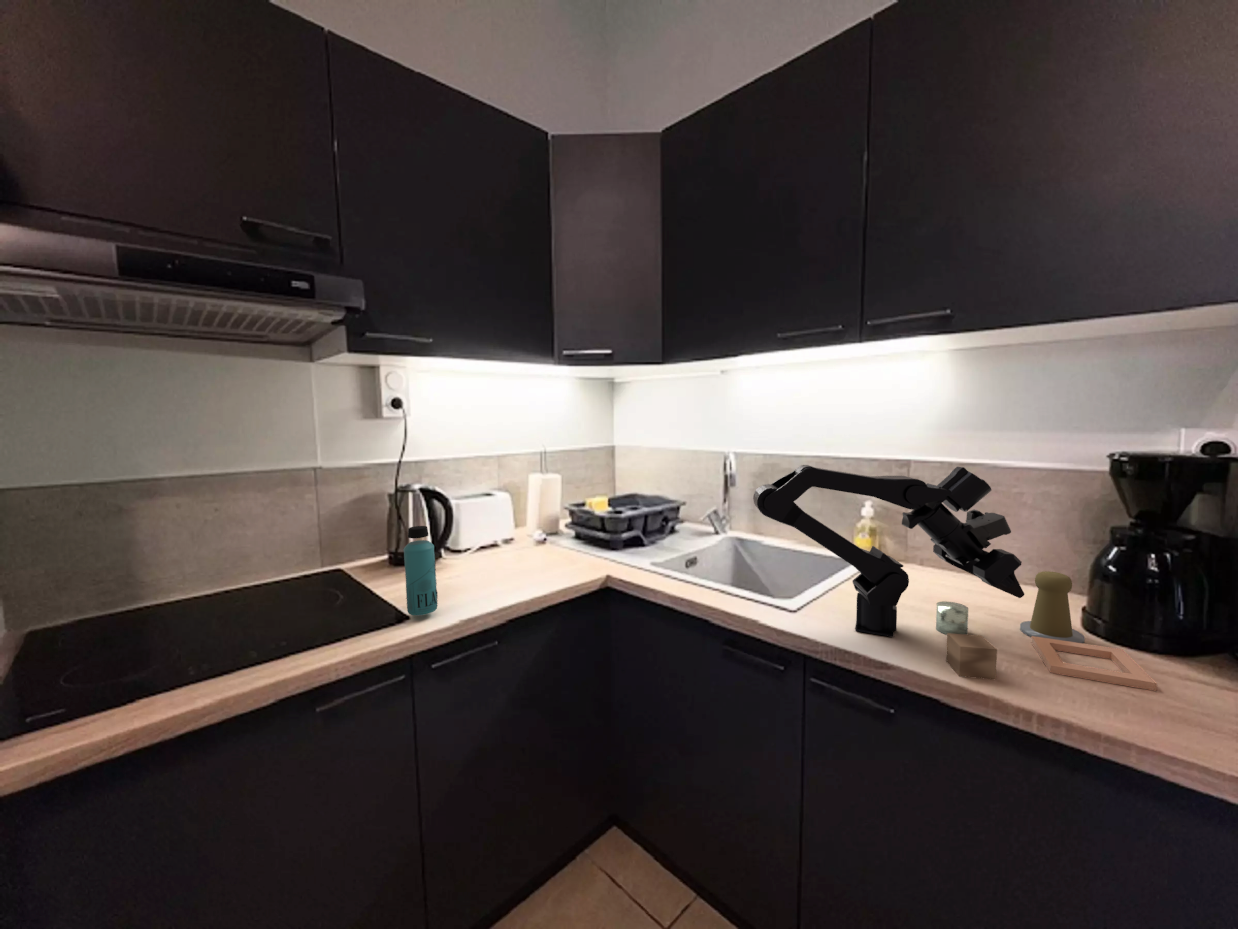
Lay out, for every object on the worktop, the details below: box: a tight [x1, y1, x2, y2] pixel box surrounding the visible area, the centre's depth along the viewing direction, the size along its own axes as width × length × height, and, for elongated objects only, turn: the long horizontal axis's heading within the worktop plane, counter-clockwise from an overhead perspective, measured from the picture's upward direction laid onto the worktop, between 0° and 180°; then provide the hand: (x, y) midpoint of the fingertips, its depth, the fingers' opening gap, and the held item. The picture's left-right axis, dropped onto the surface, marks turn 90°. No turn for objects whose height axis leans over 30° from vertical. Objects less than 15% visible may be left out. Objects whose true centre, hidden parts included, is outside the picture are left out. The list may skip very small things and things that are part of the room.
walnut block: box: [945, 633, 998, 680], centre depth 79 cm, size 5×5×5 cm
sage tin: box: [935, 600, 969, 636], centre depth 93 cm, size 5×5×5 cm
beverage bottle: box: [403, 525, 439, 616], centre depth 106 cm, size 6×7×20 cm
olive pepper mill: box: [1030, 570, 1073, 638], centre depth 90 cm, size 6×6×11 cm
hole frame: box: [1030, 636, 1158, 692], centre depth 80 cm, size 12×12×1 cm
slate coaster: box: [1019, 620, 1086, 644], centre depth 91 cm, size 9×9×1 cm
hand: (1005, 587), depth 91 cm, fingers open, 9 cm apart
